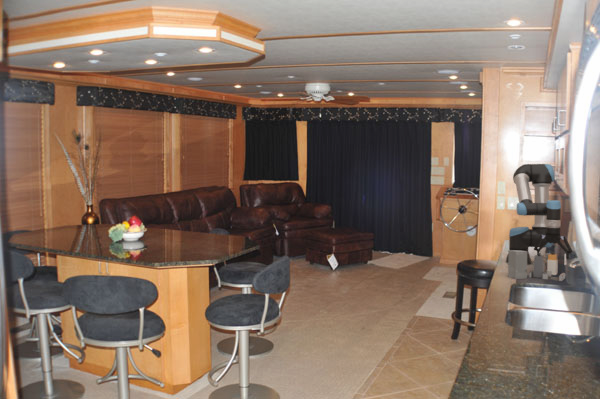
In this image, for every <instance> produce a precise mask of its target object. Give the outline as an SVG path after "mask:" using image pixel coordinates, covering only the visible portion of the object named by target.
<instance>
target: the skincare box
mask: <svg viewBox="0 0 600 399" xmlns="http://www.w3.org/2000/svg"><path fill="white" fill-rule="evenodd" d="M507 255H508V263H507V265H508V266H507V268H508V269H507V272H508V273H507V275H508V276H507V277H508V278H509V279H510V278H511V279H514V280H523V279H528V264H527V251H521V250H509V249H508V253H507Z"/></svg>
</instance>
